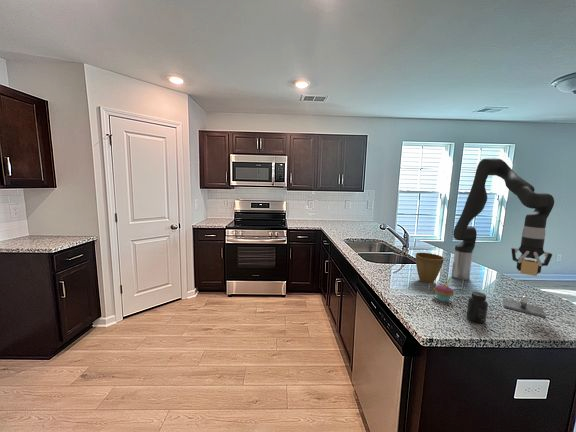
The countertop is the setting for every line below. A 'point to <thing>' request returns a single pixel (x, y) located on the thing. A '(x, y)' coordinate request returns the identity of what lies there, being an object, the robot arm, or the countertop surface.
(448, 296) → the cupcake
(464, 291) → the countertop surface
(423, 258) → the plant pot
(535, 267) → the tan cube
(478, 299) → the supplement bottle
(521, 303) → the post fixture
